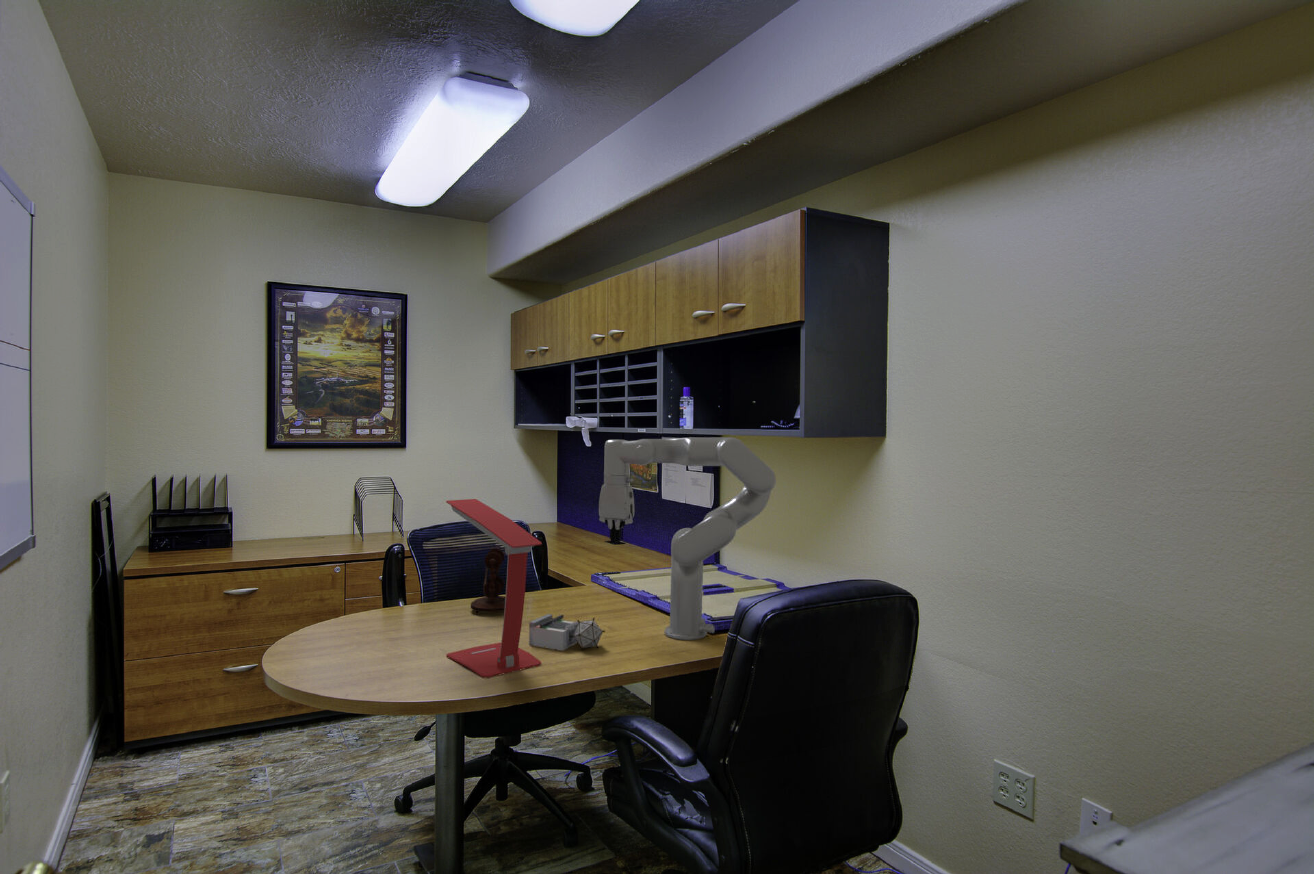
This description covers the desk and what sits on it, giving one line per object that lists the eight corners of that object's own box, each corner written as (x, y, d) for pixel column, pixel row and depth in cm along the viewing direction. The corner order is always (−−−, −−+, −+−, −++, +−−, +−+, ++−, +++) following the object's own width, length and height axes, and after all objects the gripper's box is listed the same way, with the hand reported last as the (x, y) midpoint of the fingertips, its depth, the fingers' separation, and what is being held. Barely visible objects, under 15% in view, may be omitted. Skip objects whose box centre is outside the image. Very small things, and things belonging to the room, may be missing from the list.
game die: (588, 659, 199) (601, 625, 204) (601, 656, 192) (614, 622, 197) (561, 645, 196) (575, 612, 201) (573, 642, 189) (587, 608, 194)
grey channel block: (584, 636, 203) (584, 618, 203) (563, 648, 193) (563, 628, 193) (560, 632, 206) (561, 614, 206) (538, 644, 196) (539, 624, 196)
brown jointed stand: (474, 604, 240) (475, 546, 239) (518, 604, 241) (519, 546, 241) (467, 616, 225) (468, 554, 225) (514, 616, 227) (515, 554, 226)
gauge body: (580, 641, 203) (580, 618, 203) (562, 650, 194) (563, 627, 194) (547, 635, 207) (547, 614, 207) (528, 644, 198) (529, 622, 198)
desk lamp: (487, 633, 208) (489, 498, 207) (557, 670, 179) (560, 512, 178) (428, 644, 197) (430, 501, 196) (492, 686, 167) (494, 517, 166)
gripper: (644, 481, 212) (643, 542, 212) (600, 478, 218) (599, 538, 218) (633, 483, 205) (632, 546, 205) (588, 480, 211) (587, 541, 211)
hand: (615, 542), depth 211 cm, fingers closed
